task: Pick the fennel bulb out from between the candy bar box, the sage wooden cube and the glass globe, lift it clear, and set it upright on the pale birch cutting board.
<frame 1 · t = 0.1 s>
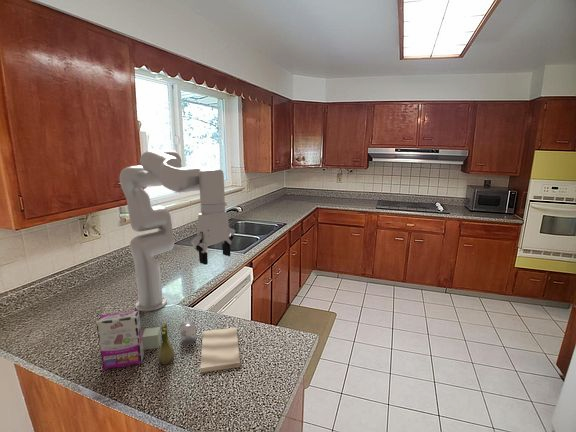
hand: (215, 259, 103), 31 cm above the worktop, tool pointing down, fingers open, 9 cm apart
glass globe: (188, 340, 111), on the worktop
birch board: (220, 349, 106), on the worktop
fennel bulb: (166, 361, 100), on the worktop
sage cube: (152, 344, 109), on the worktop
candy bar box: (124, 363, 100), on the worktop
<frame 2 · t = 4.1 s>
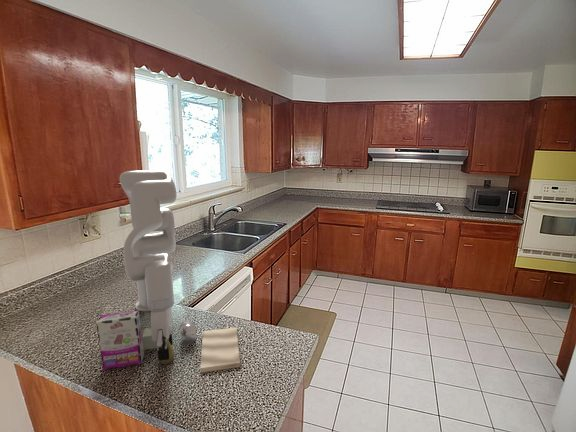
hand: (165, 351, 100), 3 cm above the worktop, tool pointing down, fingers closed on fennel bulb, 6 cm apart
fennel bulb: (166, 361, 101), on the worktop, touching gripper
everything else where it was.
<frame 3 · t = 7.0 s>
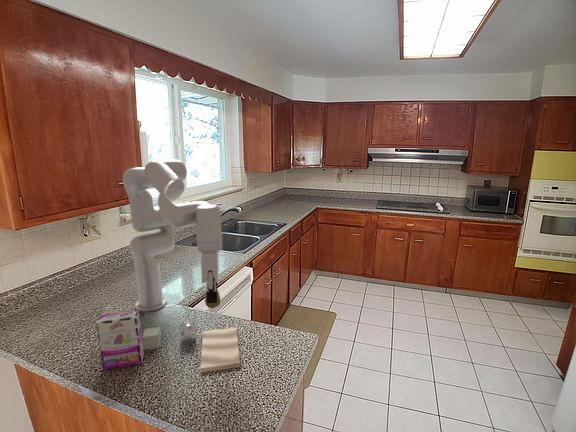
hand: (212, 296, 101), 20 cm above the worktop, tool pointing down, fingers closed on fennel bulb, 6 cm apart
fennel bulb: (212, 306, 102), point 16 cm above the worktop, touching gripper
everything else where it was.
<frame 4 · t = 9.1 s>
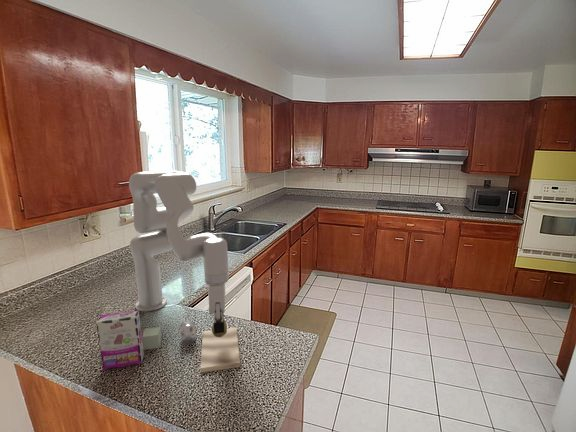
hand: (219, 326, 104), 9 cm above the worktop, tool pointing down, fingers closed on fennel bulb, 6 cm apart
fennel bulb: (219, 335, 105), point 5 cm above the worktop, touching gripper
everything else where it was.
when the fingers open (7 cm above the worktop, at t = 10.5 s): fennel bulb drops 2 cm, resting on birch board.
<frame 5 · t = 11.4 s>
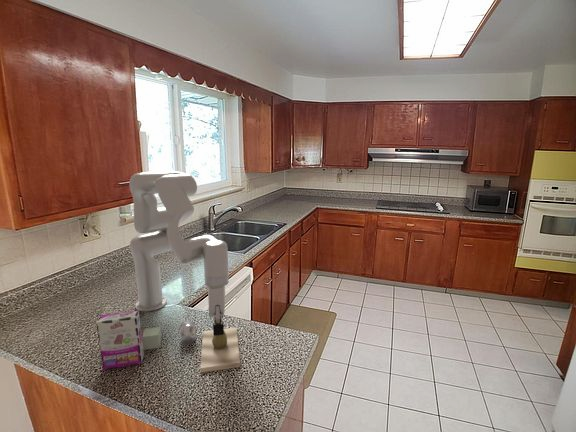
hand: (218, 326, 104), 9 cm above the worktop, tool pointing down, fingers open, 9 cm apart
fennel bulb: (219, 346, 106), point 1 cm above the worktop, touching birch board
everything else where it was.
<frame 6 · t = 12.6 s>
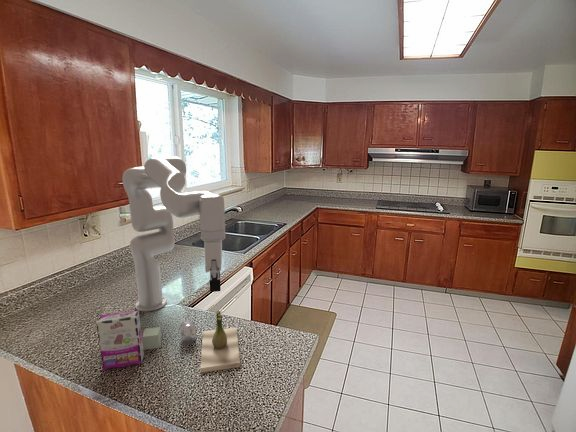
hand: (215, 284, 102), 24 cm above the worktop, tool pointing down, fingers open, 9 cm apart
nothing on the worktop moved.
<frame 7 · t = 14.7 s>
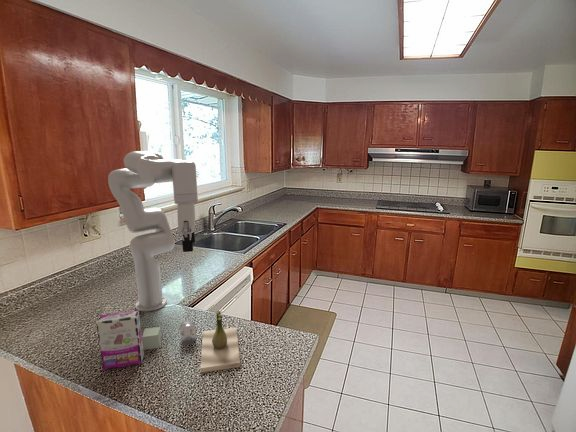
hand: (189, 246, 108), 33 cm above the worktop, tool pointing down, fingers open, 9 cm apart
nothing on the worktop moved.
at the end: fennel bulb inside the target area on the birch board (0.1 cm from its centre), point 1.3 cm above the birch board's base; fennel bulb tilted 0°; candy bar box moved 0.2 cm from its start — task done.
